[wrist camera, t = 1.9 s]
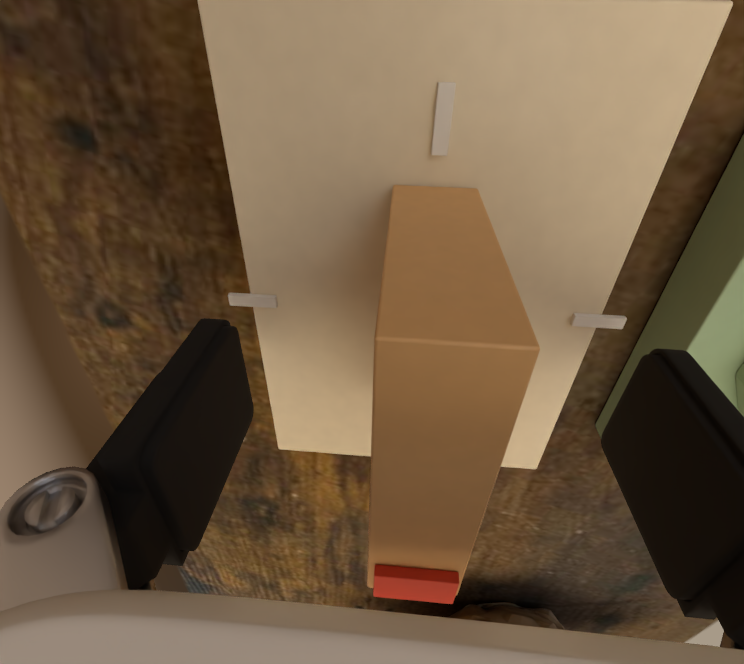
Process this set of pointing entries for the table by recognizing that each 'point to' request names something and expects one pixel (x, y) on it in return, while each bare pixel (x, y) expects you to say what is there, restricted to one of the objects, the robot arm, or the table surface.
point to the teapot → (509, 615)
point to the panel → (440, 170)
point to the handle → (440, 389)
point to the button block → (703, 297)
